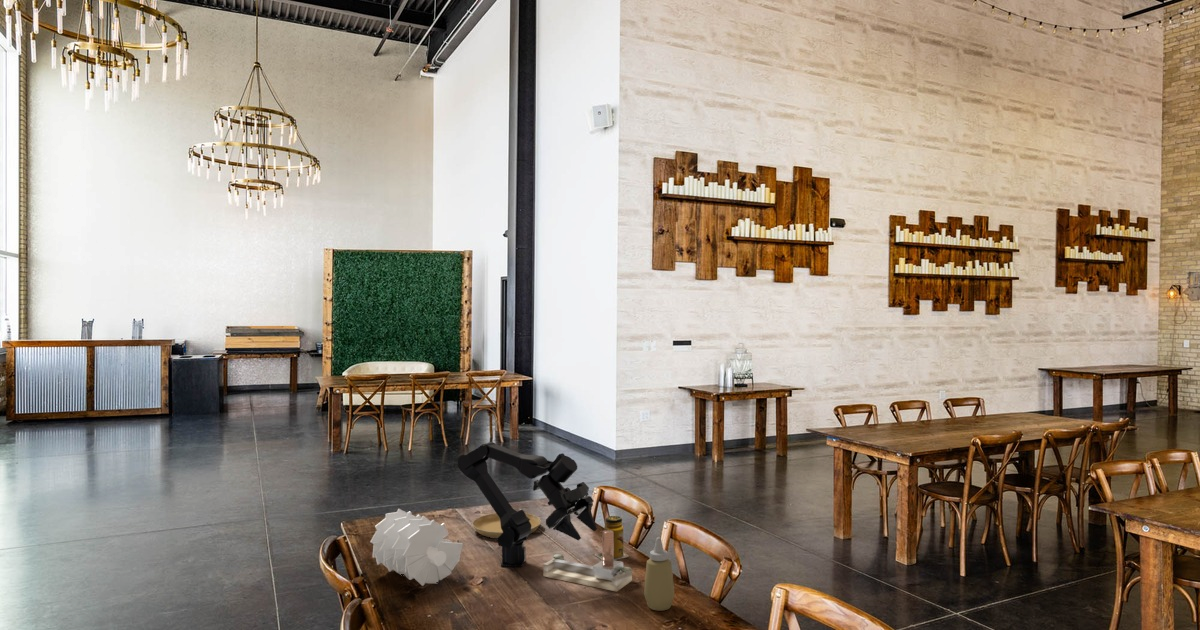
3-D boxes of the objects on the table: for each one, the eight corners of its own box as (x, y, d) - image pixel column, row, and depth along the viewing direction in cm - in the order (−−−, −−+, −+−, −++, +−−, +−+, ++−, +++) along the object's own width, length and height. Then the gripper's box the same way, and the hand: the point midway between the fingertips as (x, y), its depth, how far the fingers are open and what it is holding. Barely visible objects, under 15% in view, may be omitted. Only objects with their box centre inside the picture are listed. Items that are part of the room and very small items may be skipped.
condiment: (629, 556, 226) (628, 518, 226) (606, 562, 222) (606, 523, 221) (615, 550, 232) (615, 513, 232) (593, 555, 228) (593, 517, 228)
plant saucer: (549, 522, 264) (549, 513, 264) (528, 543, 241) (528, 534, 240) (487, 518, 269) (487, 510, 269) (461, 539, 246) (461, 529, 246)
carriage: (592, 578, 203) (592, 533, 203) (605, 570, 210) (604, 527, 209) (611, 582, 200) (611, 537, 200) (623, 574, 207) (622, 530, 206)
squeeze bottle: (641, 601, 192) (641, 533, 192) (671, 599, 193) (671, 532, 192) (646, 614, 184) (645, 543, 184) (677, 612, 185) (676, 542, 184)
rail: (541, 575, 211) (541, 562, 211) (557, 565, 219) (557, 553, 219) (619, 592, 198) (619, 578, 198) (634, 581, 206) (634, 567, 206)
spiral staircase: (426, 605, 201) (379, 578, 218) (473, 562, 212) (424, 540, 229) (402, 554, 194) (355, 530, 211) (451, 513, 206) (403, 494, 223)
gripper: (553, 482, 202) (588, 526, 197) (587, 468, 219) (620, 509, 213) (531, 506, 206) (564, 550, 201) (566, 491, 223) (597, 532, 217)
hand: (588, 534), depth 208 cm, fingers open, 9 cm apart
